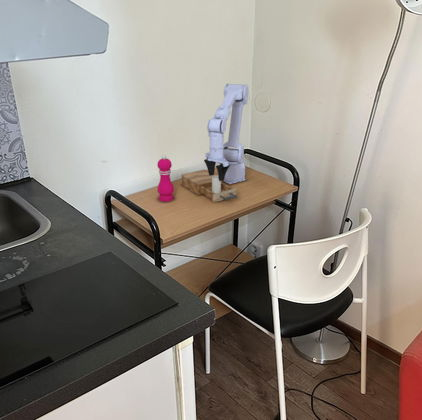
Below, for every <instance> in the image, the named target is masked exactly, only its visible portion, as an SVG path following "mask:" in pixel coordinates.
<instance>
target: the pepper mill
mask: <svg viewBox="0 0 422 420" xmlns="http://www.w3.org/2000/svg"><path fill="white" fill-rule="evenodd" d="M156 166H157V168H158V169H159V170H158V173H159V176H160V179H159V182H158V185H157V193H158V200H159V201H160V202H164V203H166V202H171V201H173V200H174V194H173V193H174V192H175V187H174V184H173V182H172V180H171V173H172V169H171V168H172V167H173V165H172V161H171V160H170V159H169V158H168V157H167V155H165V154H164V155H162V156H161V158H160V159H158V161H157V165H156Z"/></svg>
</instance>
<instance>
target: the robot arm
mask: <svg viewBox="0 0 422 420" xmlns="http://www.w3.org/2000/svg"><path fill="white" fill-rule="evenodd" d="M249 92H250V89H249V86H248V84H246V83H245V84H238V83H237V84H236V83H226V84H225V85H224V87H223V96H224V97H223V102H222V104H221V105H219V106H218V107H217V109H216V111H215V113H214V115H213V116H212V118H210V119H208V121H207V127H206V129H207V133H208V134H207V135H208V137H209V152H206V153H205V155H204V156H205V159H204V161H203V162H204V164H205V166H206V168H207V169H206V170H207V171H208V172H209V175H210V176H211V175H215V170H217V175H218V178H219V181H222V182H225V184H228V185H232V184H237V183H240V182H244V181H246V176H245V175H246V166H245V165H246V164H245V162H244V157H245V152H244V151H245V148H244V145H242V143H240V134H241V125H242V119H243V110H244V106H245V105H247V104H248V101H249V94H250V93H249ZM229 117H230V121H229V122H230V123H229V130H228V137H227V141H226V142H224V141H225V139H224V137H225V136H224V135H225V132H226V130H227V125H228V119H229ZM217 163H218V165H217Z"/></svg>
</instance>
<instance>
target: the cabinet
mask: <svg viewBox="0 0 422 420" xmlns="http://www.w3.org/2000/svg"><path fill="white" fill-rule="evenodd" d="M214 175H215V174H214ZM214 175H211V176H210V175H209V172H208V169H199V170H196V171H191V172H187V173H182V174H181V185H182V187H185V188H186V189H188V190H189V191H191V192H192V193H194V194H196V195H197V196H200V195H204V194H203V193H201V192H200V186H201V185H205V184H209V183H212V176H214ZM221 183H223V181H221Z"/></svg>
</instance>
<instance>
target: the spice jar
mask: <svg viewBox="0 0 422 420" xmlns="http://www.w3.org/2000/svg"><path fill="white" fill-rule="evenodd" d="M212 192H213V193H219V192H221V181H219V178H218V174H214V176H212Z"/></svg>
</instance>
